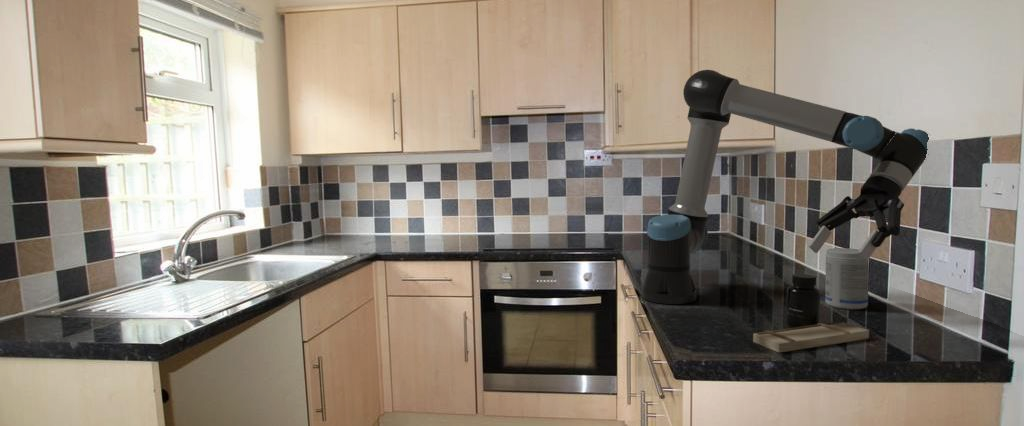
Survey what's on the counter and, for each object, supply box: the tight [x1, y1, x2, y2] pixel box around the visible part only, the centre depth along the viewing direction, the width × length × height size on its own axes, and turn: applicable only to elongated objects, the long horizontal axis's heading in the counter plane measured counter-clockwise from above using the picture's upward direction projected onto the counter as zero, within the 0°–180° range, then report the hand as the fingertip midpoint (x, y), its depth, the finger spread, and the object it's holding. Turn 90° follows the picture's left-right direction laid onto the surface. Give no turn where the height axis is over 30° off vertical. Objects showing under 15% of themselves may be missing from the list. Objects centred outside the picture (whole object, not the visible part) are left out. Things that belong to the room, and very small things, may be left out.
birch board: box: [752, 320, 870, 353], centre depth 111 cm, size 7×24×2 cm, turn 107°
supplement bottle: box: [785, 273, 821, 328], centre depth 120 cm, size 7×7×12 cm
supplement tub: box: [824, 247, 870, 310], centre depth 137 cm, size 10×10×15 cm
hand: (836, 252), depth 122 cm, fingers open, 13 cm apart
